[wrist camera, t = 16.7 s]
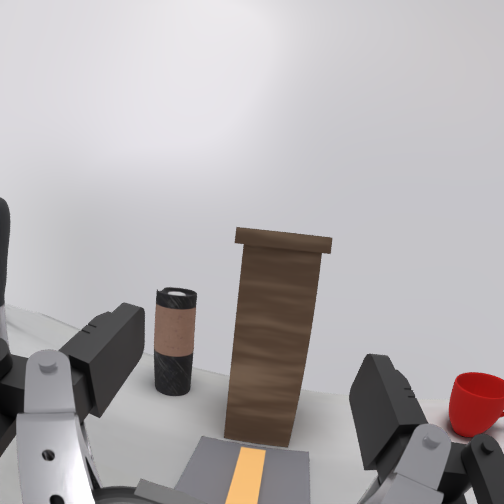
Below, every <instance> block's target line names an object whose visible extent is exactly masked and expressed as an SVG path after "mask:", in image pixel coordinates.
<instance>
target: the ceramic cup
mask: <svg viewBox="0 0 504 504" xmlns="http://www.w3.org/2000/svg"><path fill="white" fill-rule="evenodd" d="M503 410H504V380H503V379H501V378H498V377H496V376H493V375H489V374H485V373H476V372H469V373H463V374H460V375H459V376H457V378H456V379H455V382H454V385H453V389H452V393H451V397H450V403H449V417H450V421H451V424H452V426H453V430H454V431H455V432H456V433H457V434H459V435H461V436H464V437H474V436H475V435H477V434H481V433H483V432H484V431H486V430H487V429H489V428H490V427H491V426H492V425H493V424H494V423H495V422H496V421H497V420H498V418H500V417H503V416H504V412H503Z"/></svg>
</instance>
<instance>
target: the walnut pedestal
mask: <svg viewBox="0 0 504 504" xmlns="http://www.w3.org/2000/svg"><path fill="white" fill-rule="evenodd" d="M235 243H240V244H244V247H243V248H244V249H243V256H242V265H241V275H240V285H239V293H238V304H237V312H236V322H235V332H234V342H233V352H232V362H231V371H230V381H229V391H228V401H227V412H226V422H225V432H224V438H228V439H233V440H239V441H245V442H251V443H258V444H265V445H273V446H281V447H288V445H289V441H290V437H291V432H292V428H293V423H294V419H295V414H296V410H297V405H298V400H299V395H300V390H301V385H302V380H303V375H304V369H305V364H306V358H307V352H308V347H309V341H310V335H311V329H312V322H313V316H314V309H315V302H316V295H317V287H318V280H319V272H320V263H321V255H322V253H327V254H330V253H331V245H332V238H330V237H322V236H313V235H304V234H296V233H286V232H278V231H269V230H259V229H250V228H240V227H237V228H236V236H235Z"/></svg>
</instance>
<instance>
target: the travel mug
mask: <svg viewBox="0 0 504 504" xmlns="http://www.w3.org/2000/svg"><path fill="white" fill-rule="evenodd" d="M196 300H197V293H196V292H194V291H192V290H188V289H182V288H170V287H169V288H164V289H163V290H162V291H158V290H157V296H156V312H155V333H154V370H155V387H156V389H157V390H158V391H159V392H161V393H163V394H166V395H170V396H179V395H184V394H186V393H188V392H189V390H190V384H191V373H192V361H193V349H194V331H195V315H196Z"/></svg>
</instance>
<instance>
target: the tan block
mask: <svg viewBox="0 0 504 504" xmlns="http://www.w3.org/2000/svg"><path fill="white" fill-rule="evenodd" d="M265 452H266V450H260V449H253V448H246V447H241V450H240V454H239V457H238V461H237V464H236V468H235V471H234V475H233V479H232V482H231V485H230V489H229V492H228V496H227V499H226V502H225V504H257V502H258V496H259V490H260V484H261V478H262V471H263V465H264V458H265Z"/></svg>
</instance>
